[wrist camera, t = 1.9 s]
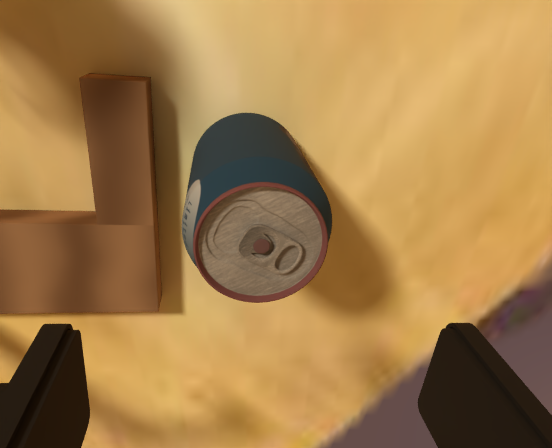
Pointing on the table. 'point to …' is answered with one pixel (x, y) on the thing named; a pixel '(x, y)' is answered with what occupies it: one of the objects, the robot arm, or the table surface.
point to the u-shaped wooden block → (94, 218)
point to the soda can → (254, 211)
